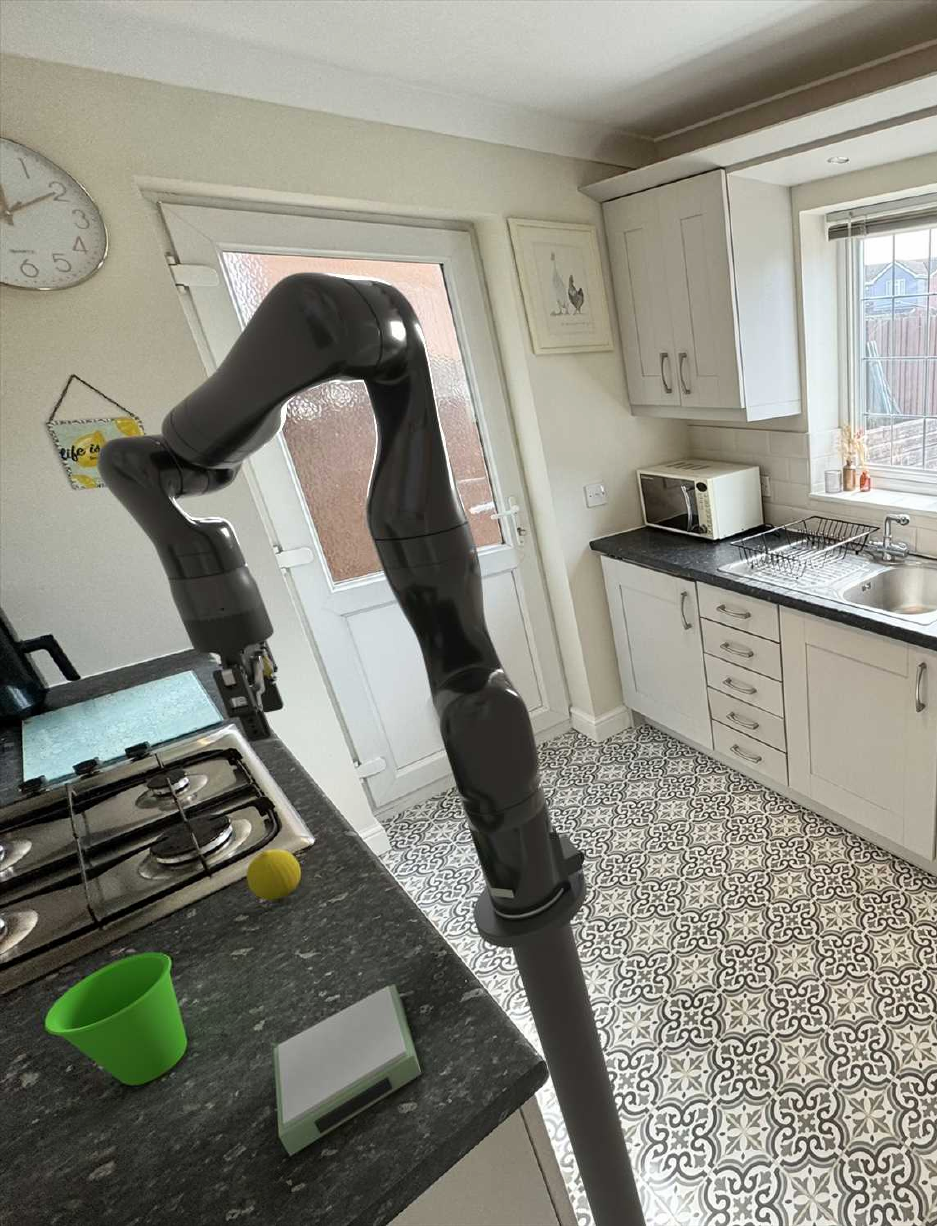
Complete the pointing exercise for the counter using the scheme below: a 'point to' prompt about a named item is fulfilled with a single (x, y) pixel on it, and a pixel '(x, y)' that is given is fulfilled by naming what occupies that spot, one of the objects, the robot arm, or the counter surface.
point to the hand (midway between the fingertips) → (267, 723)
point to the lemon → (273, 874)
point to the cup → (124, 1018)
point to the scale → (342, 1067)
